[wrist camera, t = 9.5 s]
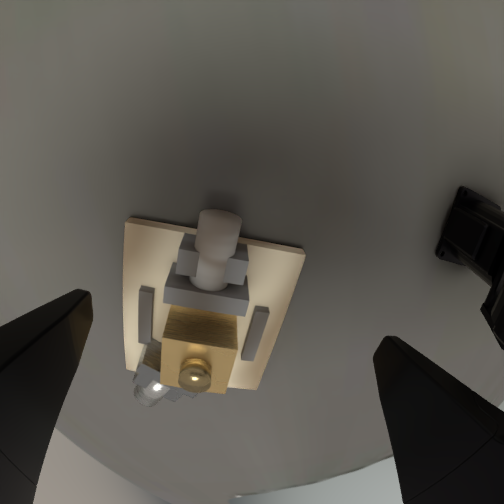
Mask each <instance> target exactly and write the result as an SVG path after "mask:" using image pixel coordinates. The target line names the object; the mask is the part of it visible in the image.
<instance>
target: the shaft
mask: <svg viewBox="0 0 504 504" xmlns="http://www.w3.org/2000/svg"><path fill="white" fill-rule="evenodd" d="M161 349H162V343H161V342H159V341H157V340H155V339H154V338H152V340H151V344H150V343H147V345H146V344H144V346H143V349H142V353H141V356H140V359H139V362H138V365H137V368H136V372H135V375H134V379H133V383H135V384H137V386H136V387H135V388H134V396H135V398H136V399H137V401H138V402H139V403H140V404H142V405H144V406H147V407H152V406H155V405H156V404H157V403H158V402H159V401H160V400H161V399H162V398H163V397H164V398H166V399H169V400H171V401H173V402H176V401H177V400H178V399H179V398H180V397H181V396H182V395H183V394H184V395H186V396H189V397H191V398H194V397H195V396H196V395H197V394H198V393H192V392H188V391H186V390H184V389H183V388H179V387H173V386H168V385H163V384H160V371H161Z"/></svg>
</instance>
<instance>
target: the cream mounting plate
mask: <svg viewBox="0 0 504 504" xmlns="http://www.w3.org/2000/svg"><path fill="white" fill-rule="evenodd" d="M241 224H242V219H241V218H240V217H239V216H238V215H236V214H233V213H231V212H228V211H224V210H218V209H205V210H202V211H201V212H200V215H199V221H198V227H197V229H194V228H188V227H183V226H177V225H172V224H166V223H161V222H155V221H149V220H144V219H138V218H132V217H130V218H129V219H128V220H127V221H126V222H125V233H124V254H123V323H124V344H125V358H126V369H127V370H132V371H136V368H137V365H138V362H139V359H140V356H141V353H142V349H143V346H144V344H146V345H147V343H150V344H151V340H152V338H154V339H155V340H157V341H159V342H161V343H162V336H163V332H164V329H165V325H166V321H167V317H168V314H169V310H170V307H171V305H177V306H182V307H188V308H193V309H199V310H205V311H211V312H217V313H223V314H230V315H236V316H237V337H238V352H237V355H236V359H235V362H234V365H233V369H232V372H231V376H230V379H229V382H228V386H227V387H232V388H241V389H252V390H257V387H258V385H259V382H260V380H261V377H262V375H263V372H264V370H265V367H266V365H267V362H268V360H269V357H270V354H271V352H272V349H273V347H274V344H275V341H276V339H277V336H278V333H279V331H280V328H281V325H282V323H283V320H284V317H285V314H286V312H287V309H288V306H289V303H290V300H291V298H292V295H293V292H294V289H295V286H296V283H297V280H298V278H299V275H300V272H301V269H302V266H303V263H304V260H305V257H306V254H305V253H304V251H303V249H299V248H294V247H289V246H284V245H279V244H274V243H268V242H263V241H258V240H253V239H247V238H242V237H239V233H240V228H241Z"/></svg>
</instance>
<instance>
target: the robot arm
mask: <svg viewBox="0 0 504 504" xmlns="http://www.w3.org/2000/svg"><path fill="white" fill-rule="evenodd" d="M463 192H464V194H463ZM441 252H442V253H441ZM436 256H437V257H438V258H439V259H441V260H445V261H449V262H453V263H456V264H460V265H463V266H467V267H468V268H469V269H471V270H472V271H473V272H474V273H475V274H477V275H478V276H479V277H480V278H481V279H482V280H484V281H485V282H486V283H487V284H488V285H489V286H490V287H491V288H490V291H489V293H488V295H487V298H486V300H485V302H484V303H483V304H482V307H481V309H480V310H481V312H482V314H483V315H484V317H485V319H486V321H487V323H488V324H489V326H490V328H491V330H492V332H493V334H494V336H495V338H496V340H497V341H498V343H499V345H500V347H501V348H502V349H503V350H504V212H502V211H501V208H500V206H498V205H496V204H495V203H493V202H491V201H490V200H488V199H486V198H485V197H483V196H481V195H479V194H477V193H476V192H474V191H472V190H470V189H468V188H466V187H464V186H462V187H460V189H459V191H458V194H457V197H456V200H455V203H454V206H453V209H452V212H451V215H450V217H449V220H448V223H447V225H446V228H445V230H444V233H443V236H442V238H441V241H440V243H439V245H438V248H437V250H436ZM92 321H93V308H92V297H91V293H90V292H89V291H86V290H82V289H76V290H73V291H71V292H69V293H67V294H65V295H63V296H61V297H59V298H57V299H55V300H53V301H51V302H48V303H46V304H44V305H42V306H40V307H38V308H36V309H34V310H32V311H30V312H28V313H26V314H24V315H22V316H20V317H18V318H16V319H14V320H13V321H11V322H9V323H7V324H5V325H3V326H1V327H0V504H33V500H34V496H35V492H36V488H37V486H36V485H37V483H38V479H39V475H40V472H41V468H42V465H43V461H44V458H45V454H46V451H47V448H48V445H49V442H50V439H51V436H52V433H53V430H54V427H55V424H56V421H57V419H58V416H59V413H60V410H61V408H62V405H63V402H64V400H65V397H66V395H67V392H68V390H69V387H70V385H71V382H72V380H73V377H74V375H75V373H76V370H77V368H78V365H79V362H80V359H81V356H82V352H83V349H84V346H85V343H86V340H87V337H88V334H89V331H90V328H91V325H92ZM373 363H374V368H375V374H376V379H377V385H378V391H379V397H380V401H381V405H382V409H383V413H384V417H385V421H386V425H387V429H388V433H389V437H390V441H391V446H392V450H393V454H394V459H395V464H396V469H397V473H398V478H399V483H400V489H401V494H402V500H403V503H404V504H504V412H503V411H502V410H500V409H499V408H497V407H496V406H494V405H493V404H491V403H490V402H488V401H487V400H485V399H484V398H482V397H481V396H480V395H478V394H477V393H475V392H474V391H472V390H471V389H470V388H469V387H467V386H466V385H464V384H463V383H462V382H460V381H459V380H457V379H456V378H455V377H453V376H452V375H451V374H449V373H448V372H446V371H445V370H444V369H442V368H441V367H439V366H438V365H437V364H435V363H434V362H432V361H431V360H430V359H428V358H427V357H425V356H424V355H423V354H421V353H420V352H418V351H417V350H415V349H414V348H413V347H411V346H410V345H408V344H407V343H406V342H404V341H403V340H401V339H400V338H398V337H397V336H385V337H384V338H383V340H382V341H381V343H380V345H379V347H378V348H377V350H376V351H375V353H374V356H373Z"/></svg>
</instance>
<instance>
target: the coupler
mask: <svg viewBox="0 0 504 504" xmlns="http://www.w3.org/2000/svg"><path fill="white" fill-rule="evenodd" d="M237 352H238V337H237V316H236V315H230V314H223V313H217V312H211V311H205V310H199V309H193V308H188V307H182V306H177V305H171V307H170V310H169V314H168V317H167V321H166V325H165V329H164V332H163V336H162V349H161V371H160V384H163V385H168V386H173V387H179V388H183V389H184V390H186V391H188V392H192V393H201V392H212V393H220V394H225V393H226V389H227V386H228V382H229V379H230V376H231V372H232V369H233V365H234V362H235V359H236V355H237Z"/></svg>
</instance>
